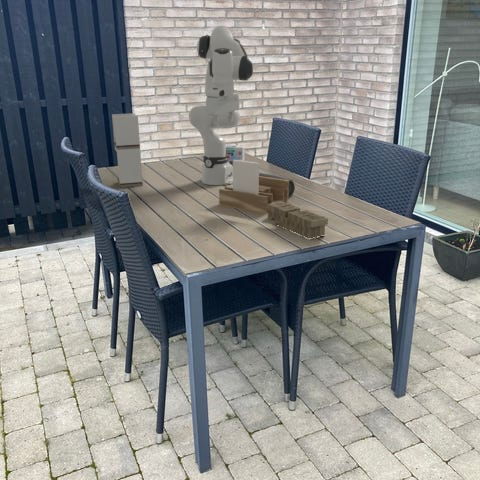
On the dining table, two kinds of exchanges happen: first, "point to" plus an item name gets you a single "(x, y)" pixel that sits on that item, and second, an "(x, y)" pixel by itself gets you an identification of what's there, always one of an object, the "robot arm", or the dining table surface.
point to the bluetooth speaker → (291, 183)
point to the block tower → (297, 219)
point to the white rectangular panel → (246, 177)
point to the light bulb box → (235, 153)
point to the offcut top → (264, 189)
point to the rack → (256, 196)
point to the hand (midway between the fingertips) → (223, 123)
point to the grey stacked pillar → (127, 149)
